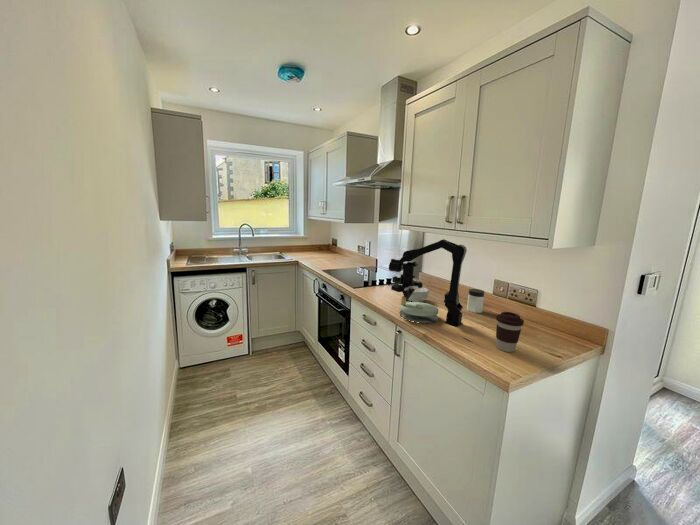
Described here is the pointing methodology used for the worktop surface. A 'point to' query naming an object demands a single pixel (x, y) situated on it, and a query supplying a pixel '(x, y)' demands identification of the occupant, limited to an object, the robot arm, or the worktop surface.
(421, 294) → the paper bowls
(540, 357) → the worktop surface
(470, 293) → the jar
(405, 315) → the grey metal shallow dish
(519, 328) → the coffee cup
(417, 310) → the handwheel
